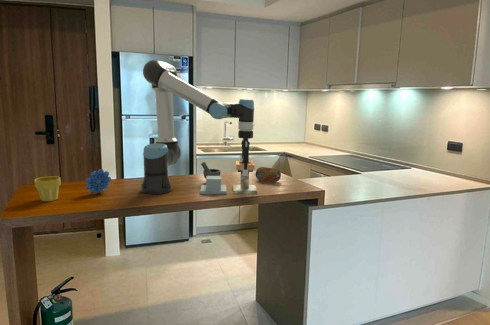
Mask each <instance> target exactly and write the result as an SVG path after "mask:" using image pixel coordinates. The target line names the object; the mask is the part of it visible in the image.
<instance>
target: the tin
mask: <svg viewBox="0 0 490 325" xmlns="http://www.w3.org/2000/svg"><path fill="white" fill-rule="evenodd" d="M255 177H256V179H257V180H258V181H259V182H264V183H278V182H279V181H280V180H281V177H282V174H281V171H280V169H278V168H277V167H267V166H260V167H258V168H257V169H256V170H255Z"/></svg>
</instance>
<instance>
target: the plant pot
mask: <svg viewBox="0 0 490 325" xmlns="http://www.w3.org/2000/svg"><path fill="white" fill-rule="evenodd" d="M61 184H62V179H61V177H60V176H55V175H53V176H51V175H50V176H41V177H37V178H35V179H34V187H35V188H36V189H37V192H38V196H39V198H40V200H41V201H42V202H54V201H56V200H58V198H59V192H60V191H59V190H60V186H61Z"/></svg>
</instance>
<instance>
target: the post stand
mask: <svg viewBox="0 0 490 325" xmlns="http://www.w3.org/2000/svg"><path fill="white" fill-rule="evenodd" d="M241 161H242V162H243V159H241ZM242 164H243V163H242ZM236 170H237V173H240V184H232V193H233V194H251V195H252V194H253V195H255V194H256V195H257V194H258V189H257V187H256V184H250V173H253V172H254V170H248V176H243V169H236Z"/></svg>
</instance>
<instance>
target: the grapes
mask: <svg viewBox="0 0 490 325" xmlns="http://www.w3.org/2000/svg"><path fill="white" fill-rule="evenodd" d="M85 182H86V183H87V184H86V185H85V189H87V190H89V192H90V193H91V194H95V193H97V194H101V193H103V191H104V190H107V189H108V188H109V183H110V182H112V178H111V177H110V172H109V171H108V170H105V171H104V169H103V168H98V170H93V171H92V172H91V173H90V176H87V177H86V179H85Z"/></svg>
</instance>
